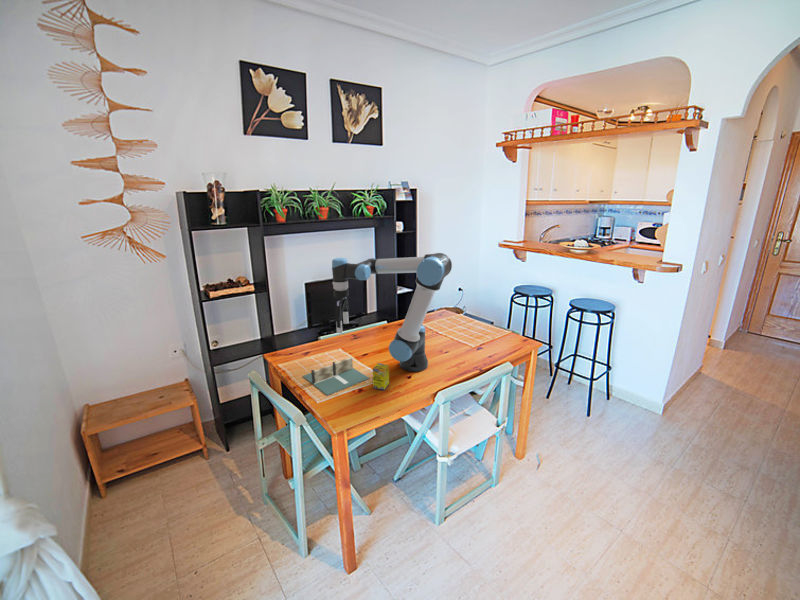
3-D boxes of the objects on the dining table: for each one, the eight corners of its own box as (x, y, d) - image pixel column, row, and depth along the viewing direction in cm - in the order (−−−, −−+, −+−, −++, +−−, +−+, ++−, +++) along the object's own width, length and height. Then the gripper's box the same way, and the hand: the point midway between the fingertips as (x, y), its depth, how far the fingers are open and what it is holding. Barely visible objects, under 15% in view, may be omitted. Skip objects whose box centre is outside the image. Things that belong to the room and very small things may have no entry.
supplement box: (372, 388, 178) (372, 368, 174) (378, 382, 183) (377, 362, 180) (384, 391, 176) (384, 370, 172) (389, 385, 181) (389, 364, 178)
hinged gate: (334, 375, 189) (333, 363, 187) (332, 374, 190) (332, 362, 188) (352, 368, 196) (352, 356, 194) (351, 367, 197) (350, 356, 195)
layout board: (369, 378, 187) (369, 377, 187) (327, 395, 172) (327, 394, 172) (343, 362, 204) (342, 361, 204) (302, 376, 189) (302, 375, 189)
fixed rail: (331, 375, 189) (330, 363, 187) (333, 376, 188) (332, 364, 186) (311, 382, 182) (310, 370, 180) (313, 384, 181) (312, 371, 179)
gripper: (339, 282, 202) (341, 319, 208) (326, 295, 178) (329, 337, 184) (353, 282, 201) (355, 320, 207) (342, 296, 177) (344, 337, 184)
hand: (342, 328), depth 196 cm, fingers open, 13 cm apart
